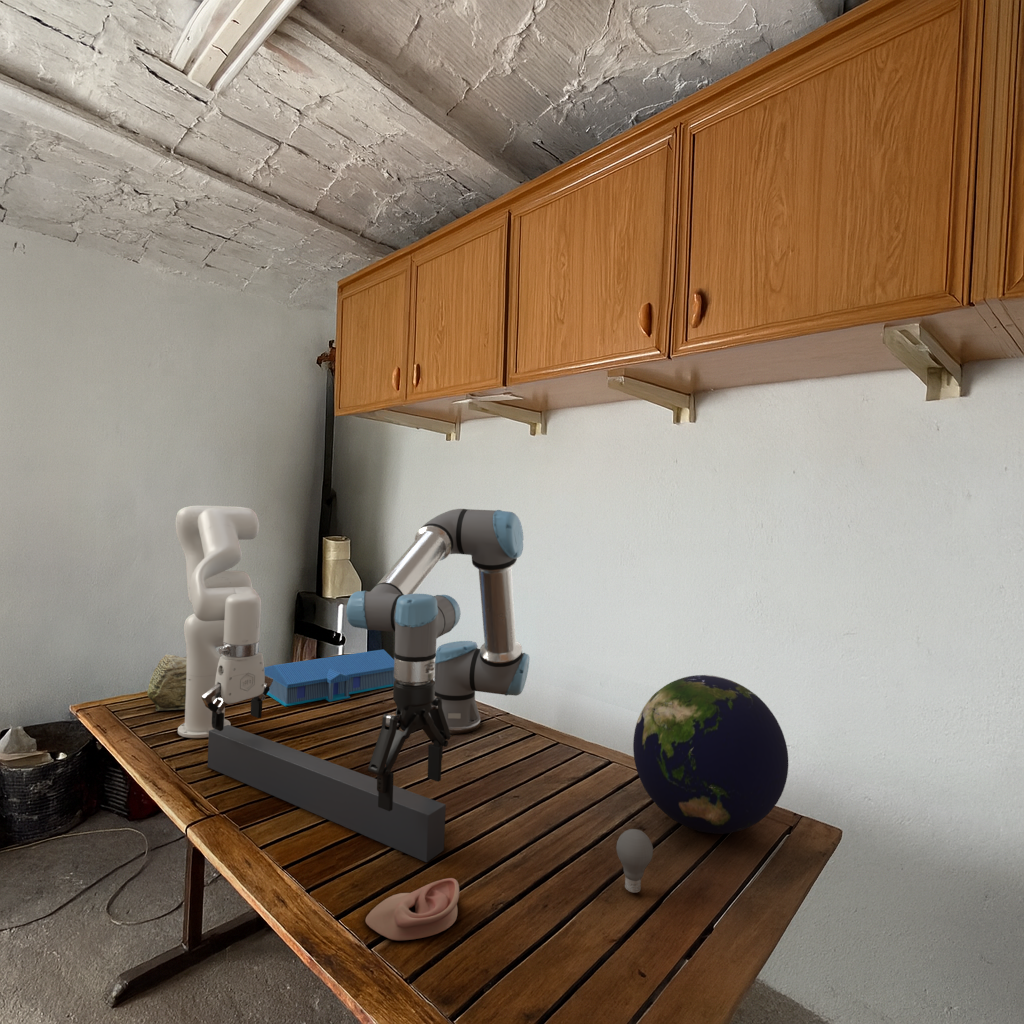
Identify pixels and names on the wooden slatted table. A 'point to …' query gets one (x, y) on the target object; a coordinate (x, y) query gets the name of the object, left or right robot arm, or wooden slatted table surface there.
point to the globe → (710, 754)
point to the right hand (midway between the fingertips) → (410, 793)
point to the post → (330, 791)
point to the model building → (330, 677)
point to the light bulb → (634, 857)
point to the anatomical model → (417, 911)
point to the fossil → (169, 683)
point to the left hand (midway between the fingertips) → (237, 722)
